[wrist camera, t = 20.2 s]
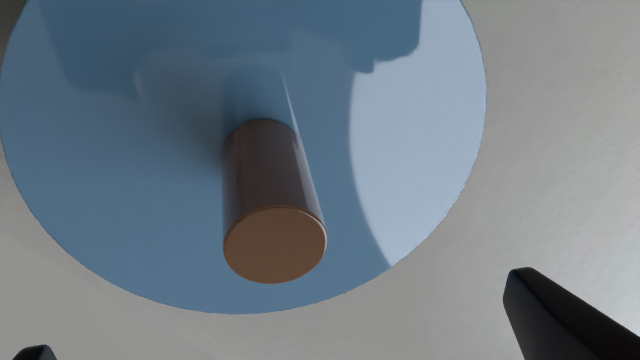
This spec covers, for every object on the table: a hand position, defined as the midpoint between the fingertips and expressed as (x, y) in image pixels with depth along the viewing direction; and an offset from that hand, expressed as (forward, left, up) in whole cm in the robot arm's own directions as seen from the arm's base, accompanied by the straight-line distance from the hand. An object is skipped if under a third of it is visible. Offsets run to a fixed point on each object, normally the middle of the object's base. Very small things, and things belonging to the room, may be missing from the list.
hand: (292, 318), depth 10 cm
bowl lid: (0, 0, -6) cm, 7 cm away
